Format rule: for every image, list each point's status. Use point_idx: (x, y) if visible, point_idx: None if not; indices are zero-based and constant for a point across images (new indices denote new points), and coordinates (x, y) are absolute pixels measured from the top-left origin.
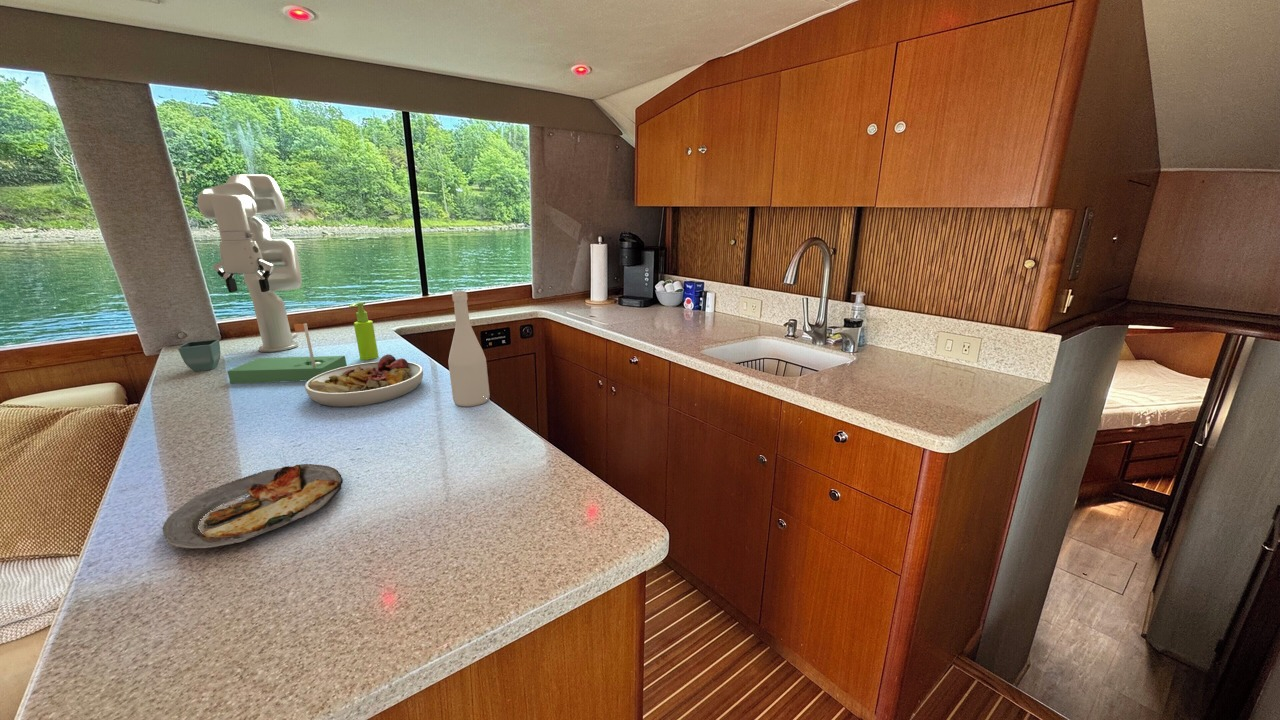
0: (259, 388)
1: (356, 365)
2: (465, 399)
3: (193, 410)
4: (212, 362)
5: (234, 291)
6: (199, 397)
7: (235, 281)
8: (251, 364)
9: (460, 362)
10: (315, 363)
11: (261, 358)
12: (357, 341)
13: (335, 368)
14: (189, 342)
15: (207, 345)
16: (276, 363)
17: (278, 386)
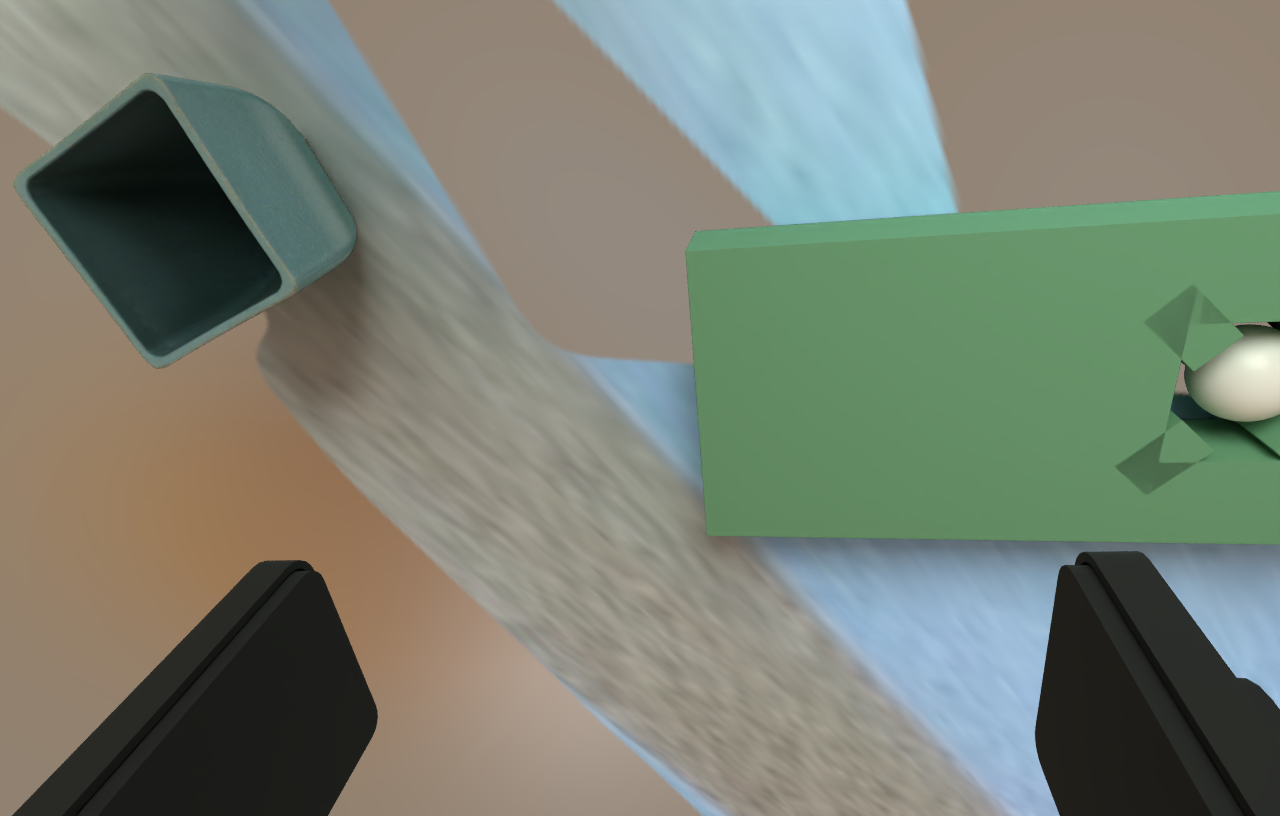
0: (948, 583)
1: None
2: None
3: (830, 786)
4: (353, 247)
5: (339, 636)
6: (725, 662)
7: (149, 764)
8: (759, 413)
9: None
10: (1271, 409)
11: (717, 260)
12: None
13: None
14: (26, 182)
15: (285, 298)
16: (938, 403)
17: (1045, 565)
